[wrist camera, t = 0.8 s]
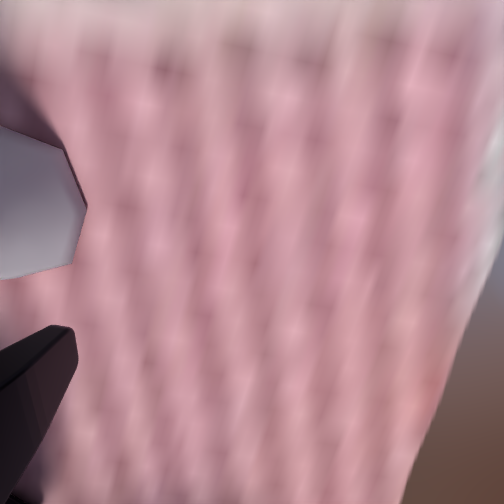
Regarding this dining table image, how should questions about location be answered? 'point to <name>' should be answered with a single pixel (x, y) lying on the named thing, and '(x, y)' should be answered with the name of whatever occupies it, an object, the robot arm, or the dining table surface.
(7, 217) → the flask
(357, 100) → the dining table surface
